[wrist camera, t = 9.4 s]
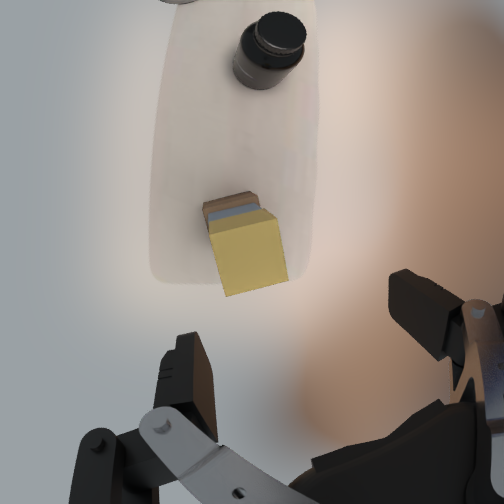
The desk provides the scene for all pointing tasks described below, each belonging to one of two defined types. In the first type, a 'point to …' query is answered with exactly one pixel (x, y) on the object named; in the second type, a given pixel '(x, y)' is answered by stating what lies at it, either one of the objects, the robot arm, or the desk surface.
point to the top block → (248, 251)
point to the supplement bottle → (269, 50)
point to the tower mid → (232, 211)
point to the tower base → (228, 203)
